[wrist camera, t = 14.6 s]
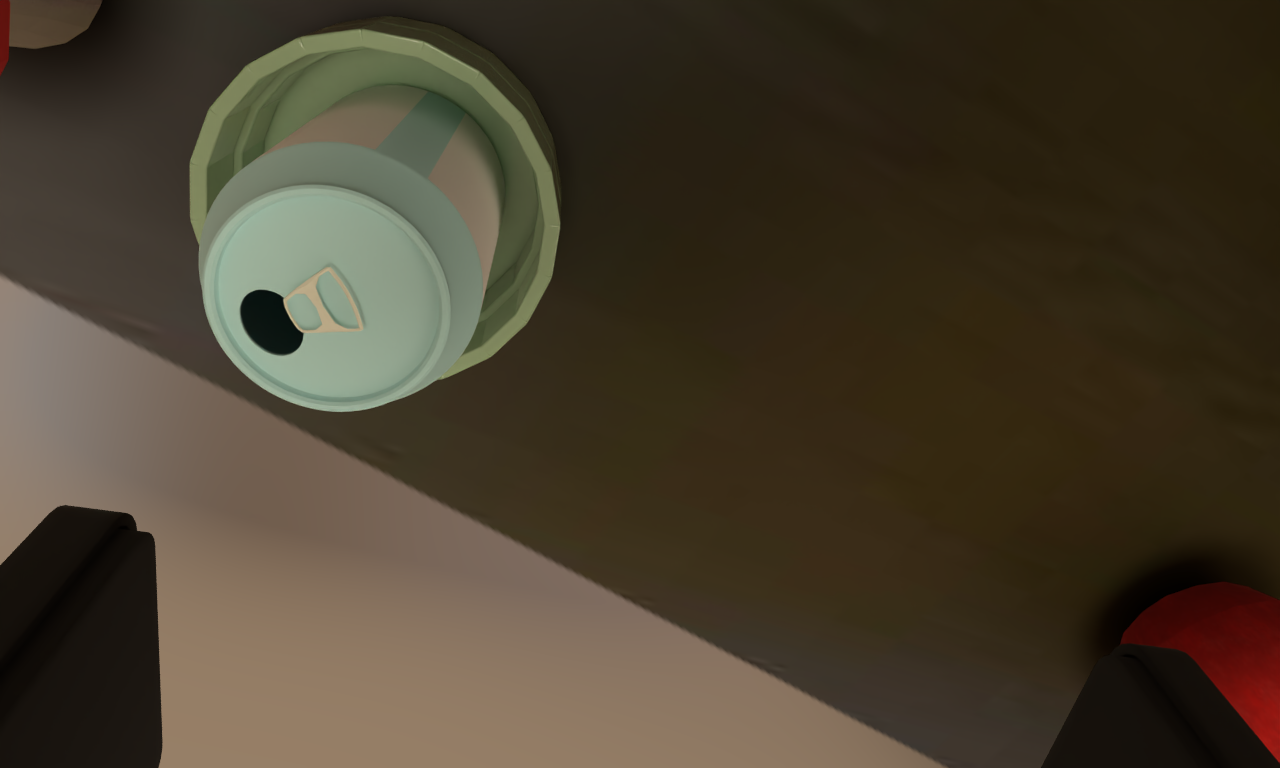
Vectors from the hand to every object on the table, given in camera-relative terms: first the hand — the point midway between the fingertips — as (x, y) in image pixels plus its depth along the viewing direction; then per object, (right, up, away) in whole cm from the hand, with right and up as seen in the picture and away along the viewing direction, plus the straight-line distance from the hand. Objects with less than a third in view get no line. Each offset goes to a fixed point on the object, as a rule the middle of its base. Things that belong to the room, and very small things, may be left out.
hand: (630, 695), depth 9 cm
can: (-8, +10, +24) cm, 27 cm away
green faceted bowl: (-8, +10, +24) cm, 27 cm away
